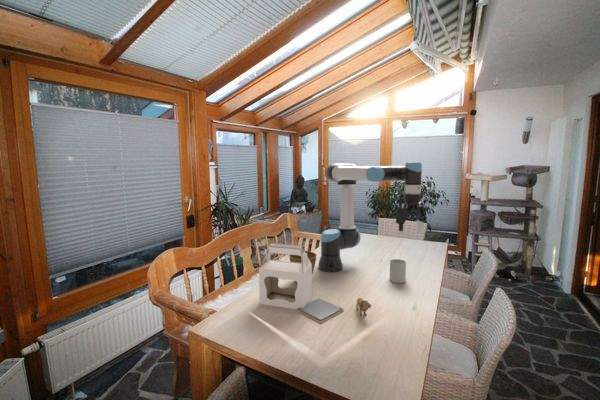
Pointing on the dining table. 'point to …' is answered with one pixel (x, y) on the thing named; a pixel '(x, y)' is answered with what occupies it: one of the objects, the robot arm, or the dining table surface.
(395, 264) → the mug
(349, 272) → the dining table surface
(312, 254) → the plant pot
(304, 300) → the gable box
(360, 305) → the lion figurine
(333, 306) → the pad
